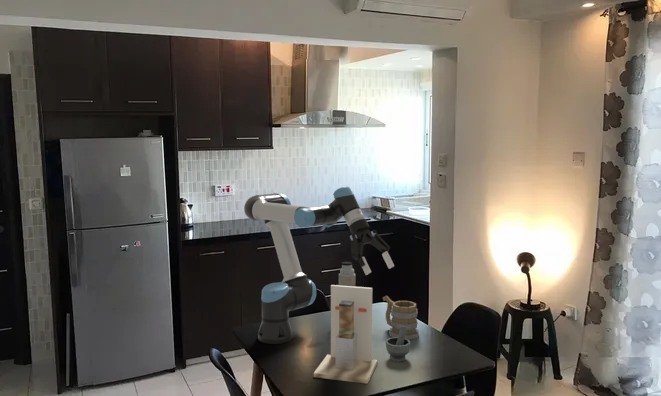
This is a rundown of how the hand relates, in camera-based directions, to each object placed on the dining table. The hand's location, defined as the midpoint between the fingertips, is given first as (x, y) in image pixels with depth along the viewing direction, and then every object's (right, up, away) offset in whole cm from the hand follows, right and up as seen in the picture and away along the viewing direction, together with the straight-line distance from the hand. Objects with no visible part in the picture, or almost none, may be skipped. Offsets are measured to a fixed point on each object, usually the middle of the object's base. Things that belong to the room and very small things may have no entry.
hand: (380, 270), depth 210 cm
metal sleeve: (-13, -35, -6) cm, 38 cm away
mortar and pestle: (+8, -36, +6) cm, 37 cm away
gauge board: (-11, -34, +1) cm, 36 cm away
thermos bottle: (-11, -31, +52) cm, 61 cm away
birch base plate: (-13, -37, -6) cm, 39 cm away
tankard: (+11, -33, +35) cm, 49 cm away
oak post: (-13, -35, -6) cm, 38 cm away
